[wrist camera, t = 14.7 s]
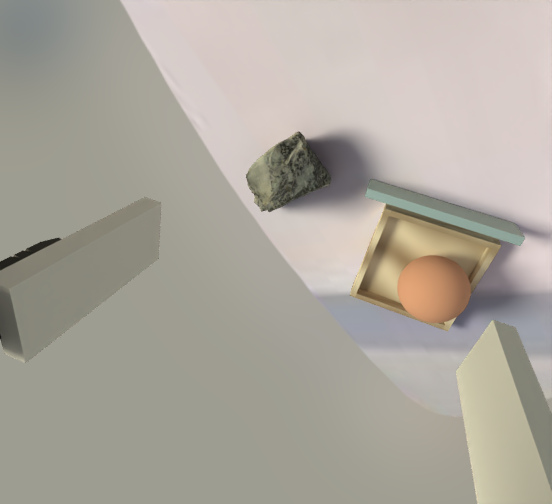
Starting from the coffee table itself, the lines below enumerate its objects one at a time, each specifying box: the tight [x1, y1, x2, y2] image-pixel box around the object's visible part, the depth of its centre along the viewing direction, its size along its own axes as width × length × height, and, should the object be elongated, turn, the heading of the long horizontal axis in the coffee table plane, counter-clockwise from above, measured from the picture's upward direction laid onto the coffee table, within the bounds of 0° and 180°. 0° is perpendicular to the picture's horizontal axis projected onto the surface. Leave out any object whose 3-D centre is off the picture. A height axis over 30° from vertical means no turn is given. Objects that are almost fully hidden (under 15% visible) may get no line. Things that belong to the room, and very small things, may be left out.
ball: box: [397, 255, 471, 323], centre depth 43 cm, size 8×8×8 cm
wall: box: [365, 179, 525, 246], centre depth 41 cm, size 1×17×4 cm, turn 77°
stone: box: [246, 132, 331, 212], centre depth 43 cm, size 10×10×10 cm
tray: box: [350, 204, 501, 331], centre depth 46 cm, size 13×13×2 cm
